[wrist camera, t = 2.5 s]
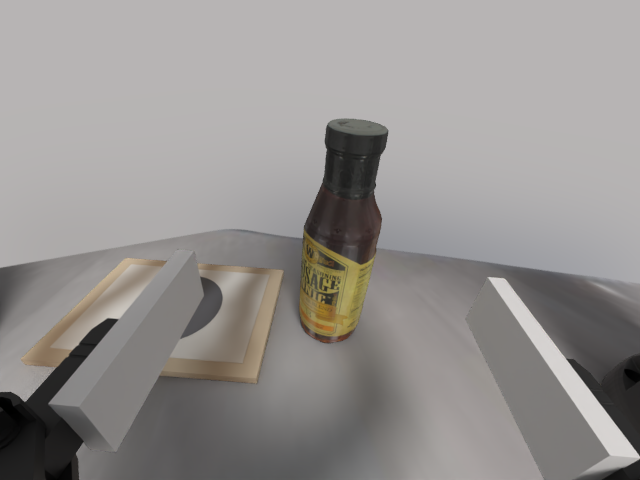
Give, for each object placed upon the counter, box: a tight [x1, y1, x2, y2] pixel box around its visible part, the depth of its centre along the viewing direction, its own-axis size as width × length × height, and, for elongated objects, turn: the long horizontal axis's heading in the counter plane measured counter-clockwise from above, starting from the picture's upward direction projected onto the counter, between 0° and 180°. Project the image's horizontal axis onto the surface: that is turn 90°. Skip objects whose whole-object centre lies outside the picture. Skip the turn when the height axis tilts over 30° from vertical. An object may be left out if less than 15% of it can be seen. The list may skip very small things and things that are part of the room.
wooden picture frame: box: [21, 258, 284, 384], centre depth 29 cm, size 20×14×1 cm
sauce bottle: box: [299, 119, 388, 343], centre depth 24 cm, size 7×6×20 cm
